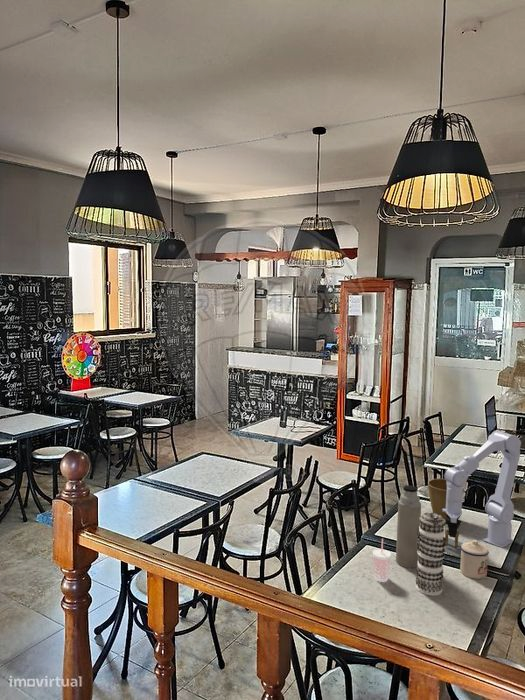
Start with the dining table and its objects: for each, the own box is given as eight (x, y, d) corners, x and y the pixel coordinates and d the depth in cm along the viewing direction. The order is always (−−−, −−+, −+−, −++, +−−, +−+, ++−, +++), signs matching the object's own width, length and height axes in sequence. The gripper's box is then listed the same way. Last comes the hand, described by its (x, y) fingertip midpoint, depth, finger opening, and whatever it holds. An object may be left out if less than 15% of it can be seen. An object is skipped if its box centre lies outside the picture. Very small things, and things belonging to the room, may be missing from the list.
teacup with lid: (482, 582, 181) (484, 549, 180) (455, 573, 187) (457, 541, 186) (493, 569, 190) (495, 537, 189) (467, 561, 196) (469, 530, 195)
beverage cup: (379, 584, 178) (381, 544, 177) (368, 576, 183) (369, 537, 182) (393, 580, 181) (395, 540, 180) (382, 572, 186) (383, 533, 185)
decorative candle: (411, 580, 181) (414, 509, 179) (438, 581, 181) (442, 510, 178) (418, 595, 172) (421, 520, 170) (447, 596, 172) (451, 521, 169)
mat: (445, 537, 215) (445, 536, 215) (474, 548, 206) (474, 547, 206) (429, 546, 207) (429, 545, 207) (458, 557, 198) (458, 556, 198)
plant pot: (419, 519, 234) (421, 483, 232) (437, 510, 244) (438, 476, 242) (451, 530, 223) (453, 492, 221) (468, 520, 233) (470, 485, 231)
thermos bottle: (398, 555, 199) (401, 482, 197) (420, 559, 196) (423, 485, 194) (393, 564, 192) (397, 488, 190) (416, 569, 189) (420, 492, 186)
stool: (444, 540, 210) (445, 524, 209) (458, 542, 208) (458, 526, 208) (444, 545, 205) (445, 529, 205) (458, 547, 204) (459, 531, 203)
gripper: (443, 492, 213) (441, 525, 214) (443, 504, 200) (441, 539, 201) (462, 494, 211) (460, 527, 212) (463, 507, 197) (461, 542, 198)
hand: (452, 533), depth 206 cm, fingers closed on stool, 5 cm apart
